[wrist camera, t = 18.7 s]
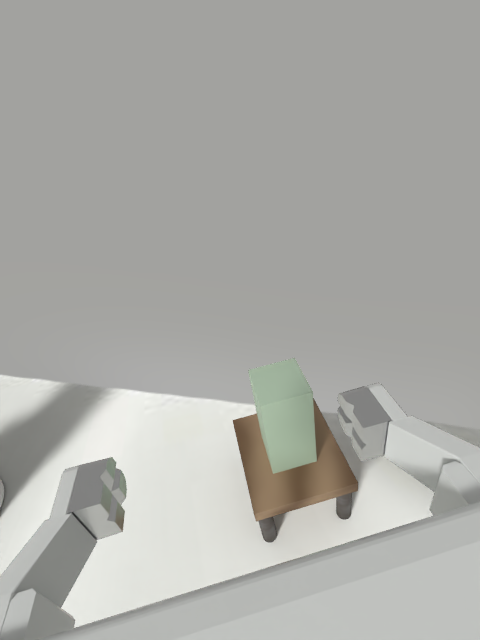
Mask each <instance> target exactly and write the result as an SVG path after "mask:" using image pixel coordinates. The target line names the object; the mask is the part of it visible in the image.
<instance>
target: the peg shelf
mask: <svg viewBox="0 0 480 640" xmlns="http://www.w3.org/2000/svg"><path fill="white" fill-rule="evenodd" d="M313 406H314V423H315V440H316V456H317V461H316V462H312V463H309V464H305V465H302V466H299V467H295V468H292V469H288V470H285V471H281V472H278V473H274V474H273V472H272V468H271V465H270V462H269V459H268V455H267V452H266V449H265V445H264V442H263V439H262V435H261V430H260V426H259V421H258V416H257V414H254V415H250V416H247V417H243V418H239V419H236V420H233V424H234V428H235V432H236V437H237V441H238V446H239V450H240V454H241V459H242V463H243V467H244V472H245V476H246V481H247V485H248V489H249V494H250V498H251V503H252V507H253V511H254V515H255V519H256V521H259V524H260V528H261V531H262V535H263V538H264V540H265V541H266V542H273V541H274V540H275V539H276V536H277V533H276V529H275V524H274V520H273V516H276V515H279V514H282V513H286V512H289V511H292V510H296V509H299V508H302V507H306V506H309V505H312V504H316V503H319V502H322V501H325V500H329V499H332V498H335V497H336V512H337V515H338V516H339V517H340V518H341V519H348V518H349V517H350V515H351V498H352V492H355V491H358V482H357V480H356V478H355V476H354V474H353V472H352V471H351V469H350V467H349V465H348V463H347V461H346V459H345V457H344V455H343V453H342V452H341V450H340V448H339V446H338V444H337V442H336V440H335V438H334V436H333V434H332V433H331V431H330V429H329V427H328V425H327V423H326V421H325V419H324V417H323V415H322V414H321V412H320V410H319V408H318V406H317V404H316V402H315V400H314V398H313Z"/></svg>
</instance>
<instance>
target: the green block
mask: <svg viewBox="0 0 480 640" xmlns="http://www.w3.org/2000/svg"><path fill="white" fill-rule="evenodd" d="M249 377H250V382H251V387H252V391H253V396H254V401H255V406H256V411H257V416H258V421H259V426H260V430H261V435H262V439H263V442H264V445H265V449H266V452H267V455H268V459H269V462H270V465H271V468H272V472H273V474H274V473H278V472H281V471H285V470H288V469H292V468H295V467H299V466H302V465H305V464H309V463H312V462H316V461H317V456H316V440H315V423H314V406H313V392H312V390H311V388H310V386H309V384H308V382H307V380H306V379H305V377H304V375H303V373H302V371H301V369H300V367H299V365H298V364H297V362H296V360H295V358H293V359H289V360H285V361H281V362H277V363H274V364H270V365H266V366H263V367H259V368H255V369H251V370H249Z"/></svg>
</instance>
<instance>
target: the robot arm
mask: <svg viewBox="0 0 480 640" xmlns="http://www.w3.org/2000/svg"><path fill="white" fill-rule="evenodd" d="M338 402H339V404H340V407H339V408H338V418H339V422H340V425H341V427H342V429H343V431H344V433H345V435H347V436H349V437H350V438H352V447H353V449H354V450H355V452H356V454H357V456H358V457H359V459H360V461H361V462H362V461H365V460H369V459H373V458H377V457H380V456H384V457H385V458H387V459H388V460H390V461H391V462H392V463H394V464H395V465H397V466H398V467H400V468H401V469H403V470H404V471H405V472H407V473H408V474H410V475H411V476H413V477H414V478H415V479H417V480H418V481H420V482H421V483H423V484H424V485H425V486H427V487H428V488H430V489H431V490H433V491H434V492H435V493H434V496H433V500H432V503H431V506H430V511H431V513H432V514H433V516H431V517H428V518H425V519H422V520H418V521H415V522H412V523H409V524H406V525H402V526H399V527H396V528H393V529H390V530H386V531H383V532H380V533H377V534H374V535H370V536H367V537H364V538H361V539H358V540H354V541H351V542H348V543H345V544H341V545H338V546H335V547H332V548H329V549H325V550H322V551H319V552H316V553H313V554H309V555H306V556H303V557H300V558H297V559H293V560H290V561H287V562H284V563H281V564H277V565H274V566H271V567H268V568H265V569H261V570H258V571H255V572H252V573H249V574H245V575H242V576H239V577H236V578H232V579H229V580H226V581H223V582H220V583H216V584H213V585H210V586H207V587H204V588H200V589H197V590H194V591H191V592H188V593H184V594H181V595H178V596H175V597H172V598H168V599H165V600H162V601H159V602H156V603H152V604H149V605H146V606H143V607H140V608H136V609H133V610H130V611H127V612H124V613H120V614H117V615H114V616H111V617H108V618H104V619H101V620H98V621H95V622H92V623H88V624H85V625H82V626H79V627H76V628H74V624H75V619H74V618H73V616H71V615H70V614H69V613H67V612H66V611H64V610H63V609H61V607H62V605H63V603H64V601H65V600H66V598H67V596H68V594H69V592H70V590H71V589H72V587H73V585H74V583H75V581H76V579H77V578H78V576H79V574H80V572H81V570H82V569H83V567H84V565H85V563H86V561H87V559H88V558H89V556H90V554H91V552H92V550H93V549H94V547H95V545H96V543H97V541H96V540H99V539H102V538H105V537H108V536H111V535H114V534H117V533H120V532H123V523H124V513H125V511H124V509H123V508H122V507H121V505H122V503H123V502H124V500H125V498H126V490H127V489H126V480H125V477H124V474H123V473H122V471H121V470H119V469H116V462H115V460H114V459H113V458H112V457H111V458H107V459H103V460H99V461H95V462H91V463H87V464H83V465H79V466H75V467H71V468H68V469H65V471H64V472H63V474H62V476H61V480H60V483H59V487H58V490H57V494H56V497H55V501H54V504H53V508H52V512H51V515H50V519H49V520H45V521H44V522H43V523H42V525H41V526H40V527H39V528H38V530H37V531H36V532H35V534H34V535H33V536H32V537H31V539H30V540H29V541H28V542H27V544H26V545H25V546H24V547H23V549H22V550H21V551H20V552H19V554H18V555H17V556H16V557H15V559H14V560H13V561H12V562H11V564H10V565H9V566H8V567H7V569H6V570H5V571H4V572H3V574H2V575H1V576H0V640H480V447H477V446H475V445H473V444H471V443H469V442H467V441H465V440H463V439H461V438H458V437H456V436H454V435H452V434H450V433H448V432H446V431H444V430H442V429H439V428H437V427H435V426H433V425H431V424H429V423H427V422H425V421H422V420H420V419H418V418H416V417H414V416H407V415H406V414H405V412H404V411H403V410H402V409H401V408H400V406H399V405H398V404H397V403H396V401H395V400H394V399H393V398H392V397H391V395H390V394H389V393H388V392H387V391H386V389H385V388H384V387H383V386H382V384H380V383H376V384H372V385H368V386H365V387H360V388H357V389H353V390H350V391H347V392H343V393H340V394H339V395H338ZM3 498H4V485H3V483H2V481H1V479H0V508H1V505H2V502H3Z"/></svg>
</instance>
